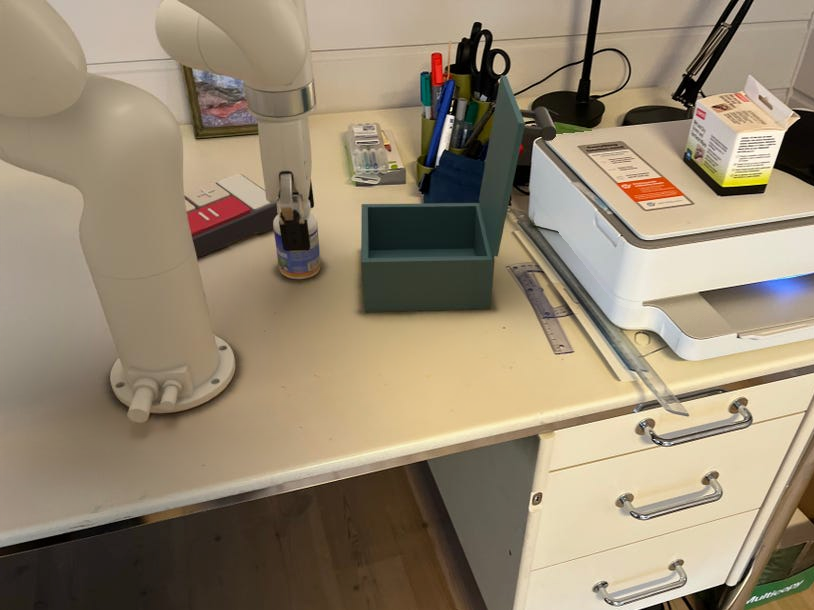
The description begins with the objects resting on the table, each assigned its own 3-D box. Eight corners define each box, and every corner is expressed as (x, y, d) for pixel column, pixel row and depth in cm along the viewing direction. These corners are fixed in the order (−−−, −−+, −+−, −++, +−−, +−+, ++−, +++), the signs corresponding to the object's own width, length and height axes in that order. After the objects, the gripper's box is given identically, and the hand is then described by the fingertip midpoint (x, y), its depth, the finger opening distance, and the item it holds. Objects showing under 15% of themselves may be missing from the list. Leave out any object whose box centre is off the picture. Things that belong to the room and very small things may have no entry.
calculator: (140, 204, 101) (239, 168, 108) (149, 232, 104) (245, 194, 111) (180, 238, 95) (282, 196, 103) (189, 266, 98) (287, 223, 106)
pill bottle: (275, 261, 99) (265, 194, 92) (316, 254, 100) (309, 188, 94) (284, 284, 95) (274, 216, 89) (326, 276, 97) (320, 209, 90)
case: (364, 312, 91) (361, 261, 87) (364, 252, 102) (361, 203, 97) (490, 309, 93) (494, 259, 89) (478, 250, 104) (481, 202, 99)
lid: (518, 122, 78) (569, 128, 79) (500, 75, 88) (545, 80, 89) (492, 256, 88) (537, 259, 89) (478, 199, 98) (519, 203, 100)
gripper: (254, 65, 89) (275, 193, 100) (236, 130, 76) (262, 268, 88) (318, 65, 90) (331, 192, 101) (311, 129, 77) (327, 266, 89)
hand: (299, 227), depth 95 cm, fingers open, 9 cm apart
